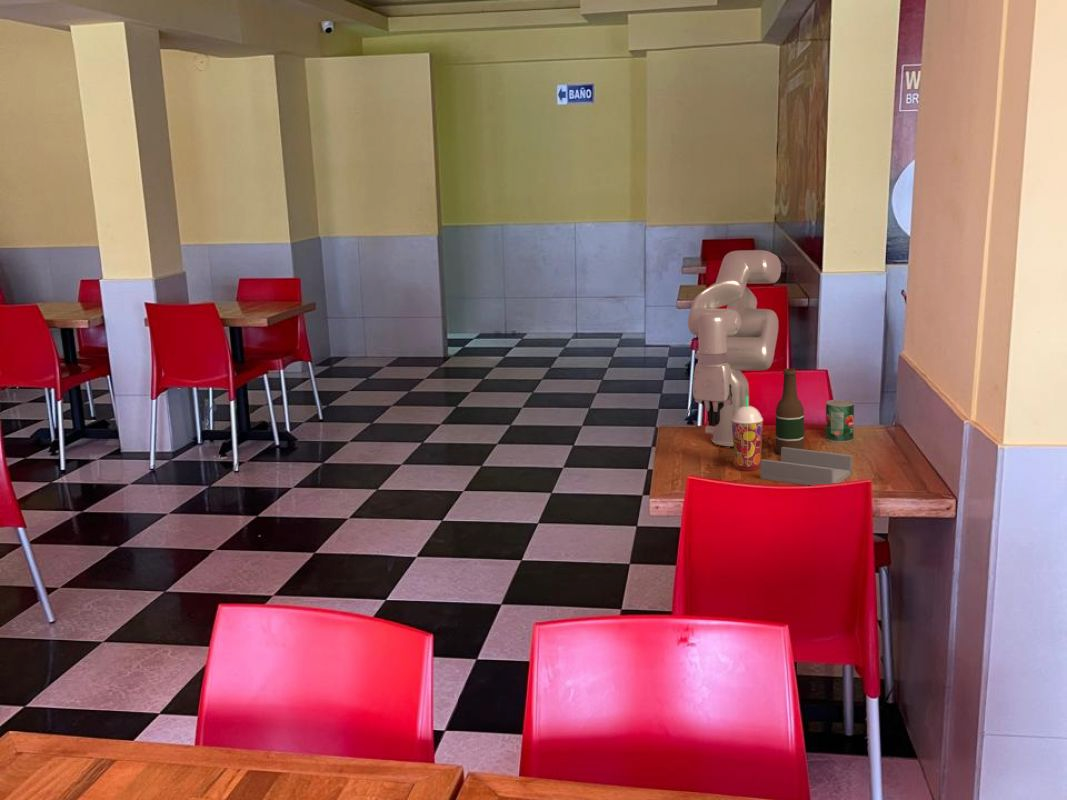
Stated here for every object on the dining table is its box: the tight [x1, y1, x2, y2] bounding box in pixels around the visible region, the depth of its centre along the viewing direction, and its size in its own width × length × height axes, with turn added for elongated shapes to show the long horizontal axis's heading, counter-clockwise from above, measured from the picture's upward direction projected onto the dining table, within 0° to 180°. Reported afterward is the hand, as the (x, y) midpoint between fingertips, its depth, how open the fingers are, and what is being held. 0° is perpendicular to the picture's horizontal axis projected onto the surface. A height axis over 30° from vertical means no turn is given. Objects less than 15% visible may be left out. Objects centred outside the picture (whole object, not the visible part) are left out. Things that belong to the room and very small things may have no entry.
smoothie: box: [731, 396, 764, 472], centre depth 271 cm, size 8×8×20 cm
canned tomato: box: [825, 399, 855, 443], centre depth 295 cm, size 8×8×11 cm
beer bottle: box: [775, 368, 805, 456], centre depth 283 cm, size 8×8×24 cm
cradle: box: [759, 447, 853, 486], centre depth 263 cm, size 19×14×5 cm
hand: (713, 424), depth 276 cm, fingers closed
